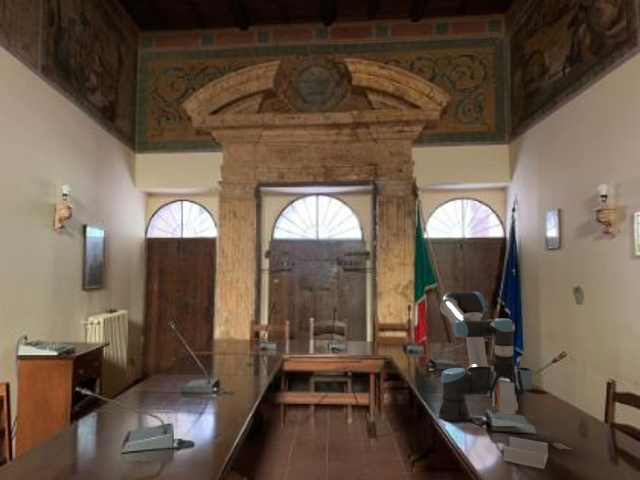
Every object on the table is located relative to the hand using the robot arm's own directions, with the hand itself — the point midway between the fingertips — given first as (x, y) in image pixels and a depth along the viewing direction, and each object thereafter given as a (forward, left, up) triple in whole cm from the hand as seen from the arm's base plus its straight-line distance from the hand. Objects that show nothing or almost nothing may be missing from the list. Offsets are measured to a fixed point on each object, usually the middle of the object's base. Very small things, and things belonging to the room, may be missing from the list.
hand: (505, 407), depth 197 cm
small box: (0, 0, -2) cm, 2 cm away
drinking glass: (-7, +97, -14) cm, 98 cm away
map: (+26, +1, -14) cm, 30 cm away
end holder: (+10, -15, -14) cm, 23 cm away
